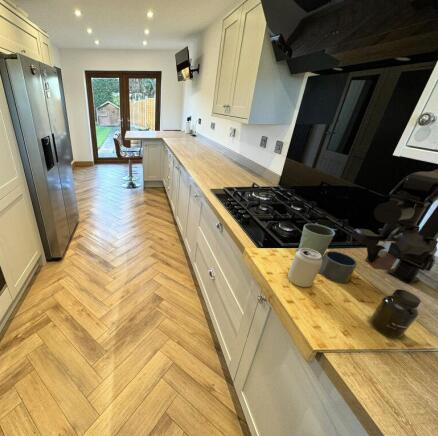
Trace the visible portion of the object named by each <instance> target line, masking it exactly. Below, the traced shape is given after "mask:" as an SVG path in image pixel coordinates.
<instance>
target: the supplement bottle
mask: <svg viewBox="0 0 438 436" xmlns="http://www.w3.org/2000/svg"><path fill="white" fill-rule="evenodd" d="M421 302H422V300H421V298H419V297H418V296H417V295H415V294H414V293H412V292H410V291H408V290H405V289H399V288H398V289H395V290H394V292H392V293H391V294H390V295H386V296H384V297H383V298H382V300H381V301H380V303H379V304H378V306H377V307H376V308H375V310H374V311H373V313H372V314H371V316H370V318H369V323H370V325H371V326H372V327H373V328H374V329H375V330H376V331H378V332H379V333H381V334H383V335H384V336H387V337H389V338H393V339H399V338H401V337H402V336H403V335H404V334H405V333H406V332H407V330H408V329H410V327H411V326H412V324H413V323H414V322H415V320H416V319H417V318H418V317H419V310H418V307H419V305H420V304H421Z"/></svg>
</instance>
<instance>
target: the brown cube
mask: <svg viewBox="0 0 438 436" xmlns="http://www.w3.org/2000/svg"><path fill="white" fill-rule="evenodd" d="M397 260H398V259H396V258H395V257H393V256H392V255H391V254H389V253H388V250H380V251H379V253H378V255H377V256H376V258H375V259H374V261H373V262H372V263H371V262H369V261H368V254H367V256H366V257H365V259H364V262H366V264H368V265H369V266H370V267H371V268H372V269H374V270H381V271H390V270H392V269H393V266H394V264H395V263H396V261H397Z"/></svg>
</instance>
